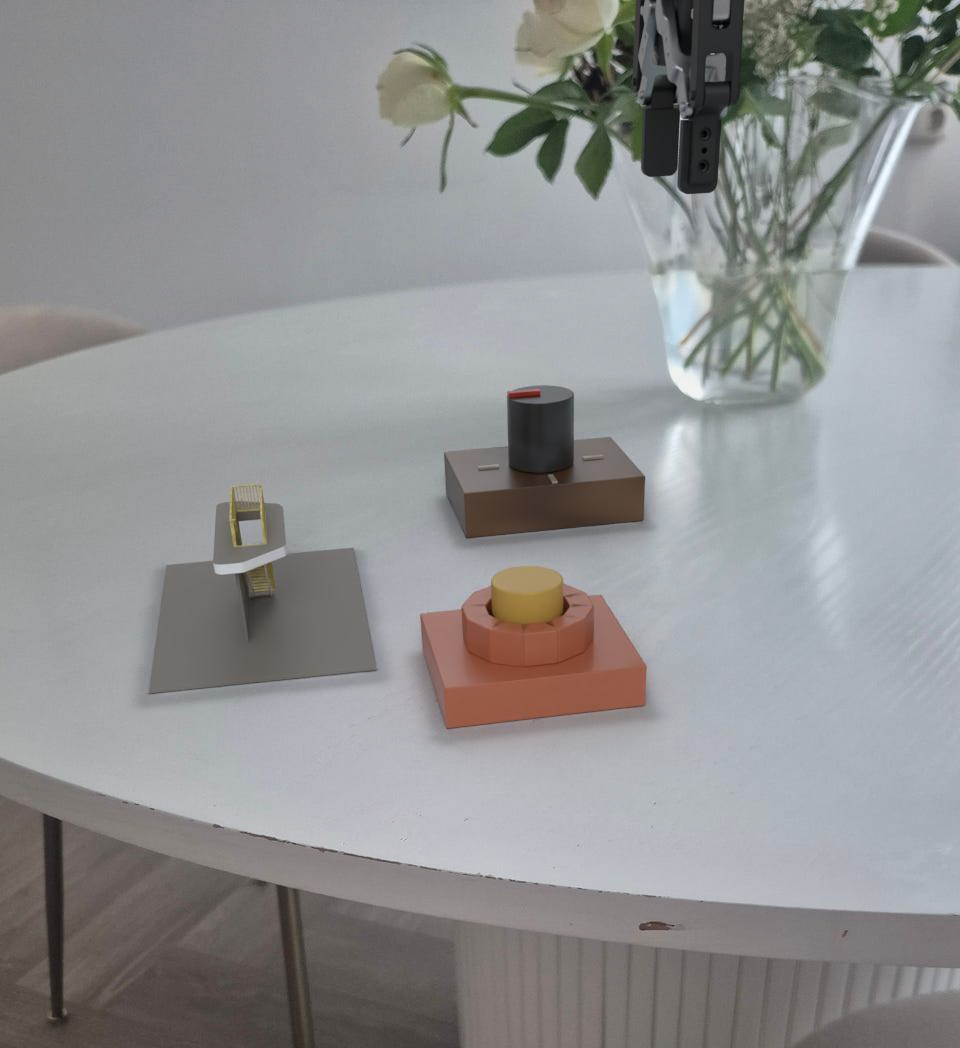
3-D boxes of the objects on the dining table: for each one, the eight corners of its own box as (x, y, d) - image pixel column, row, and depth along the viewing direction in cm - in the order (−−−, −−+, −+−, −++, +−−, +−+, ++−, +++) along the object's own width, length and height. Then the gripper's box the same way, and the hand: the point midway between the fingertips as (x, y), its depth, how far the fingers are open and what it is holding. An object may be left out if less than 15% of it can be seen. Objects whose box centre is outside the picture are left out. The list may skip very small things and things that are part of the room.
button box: (600, 631, 70) (602, 562, 68) (645, 705, 63) (648, 631, 60) (422, 650, 69) (417, 581, 66) (446, 728, 61) (442, 654, 59)
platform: (353, 547, 82) (343, 445, 78) (376, 669, 67) (365, 551, 63) (166, 565, 80) (147, 462, 77) (148, 693, 66) (123, 574, 62)
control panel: (609, 478, 91) (610, 434, 89) (643, 520, 84) (645, 473, 82) (446, 493, 90) (443, 449, 88) (466, 538, 82) (463, 490, 81)
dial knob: (565, 450, 87) (565, 378, 84) (580, 469, 83) (580, 395, 81) (503, 455, 87) (501, 383, 84) (515, 475, 83) (513, 401, 80)
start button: (554, 594, 65) (554, 561, 64) (570, 622, 62) (570, 589, 61) (486, 601, 65) (485, 569, 64) (498, 630, 62) (497, 596, 61)
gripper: (808, -172, 62) (775, 196, 71) (721, -147, 74) (703, 167, 83) (659, -168, 61) (645, 204, 71) (596, -143, 73) (591, 173, 82)
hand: (676, 183), depth 77 cm, fingers open, 8 cm apart
